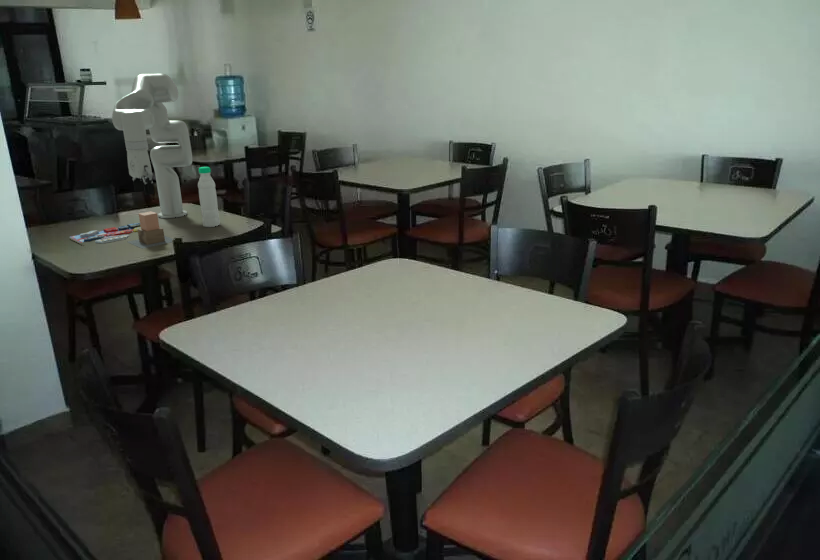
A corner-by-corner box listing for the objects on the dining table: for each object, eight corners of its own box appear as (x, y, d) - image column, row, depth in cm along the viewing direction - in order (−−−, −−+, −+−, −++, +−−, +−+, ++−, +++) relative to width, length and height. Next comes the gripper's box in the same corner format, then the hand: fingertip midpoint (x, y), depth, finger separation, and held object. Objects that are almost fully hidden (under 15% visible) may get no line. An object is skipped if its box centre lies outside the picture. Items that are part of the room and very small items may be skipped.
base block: (139, 241, 238) (137, 229, 236) (157, 237, 243) (155, 225, 241) (147, 244, 233) (145, 232, 232) (165, 241, 238) (163, 228, 236)
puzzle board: (90, 251, 232) (89, 244, 232) (69, 240, 248) (68, 234, 247) (168, 235, 253) (167, 229, 252) (144, 226, 268) (143, 220, 267)
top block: (141, 228, 236) (138, 213, 234) (153, 226, 240) (151, 211, 238) (146, 231, 233) (144, 215, 231) (159, 228, 236) (157, 213, 234)
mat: (127, 244, 238) (126, 241, 238) (162, 237, 248) (161, 234, 247) (142, 251, 229) (142, 248, 229) (178, 243, 238) (177, 240, 238)
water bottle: (217, 227, 261) (209, 168, 253) (200, 227, 261) (192, 168, 253) (222, 223, 268) (215, 165, 259) (206, 223, 268) (198, 166, 260)
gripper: (117, 145, 229) (124, 191, 235) (136, 148, 218) (144, 197, 223) (137, 143, 234) (144, 188, 240) (157, 146, 223) (164, 194, 229)
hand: (144, 192), depth 232 cm, fingers open, 8 cm apart
